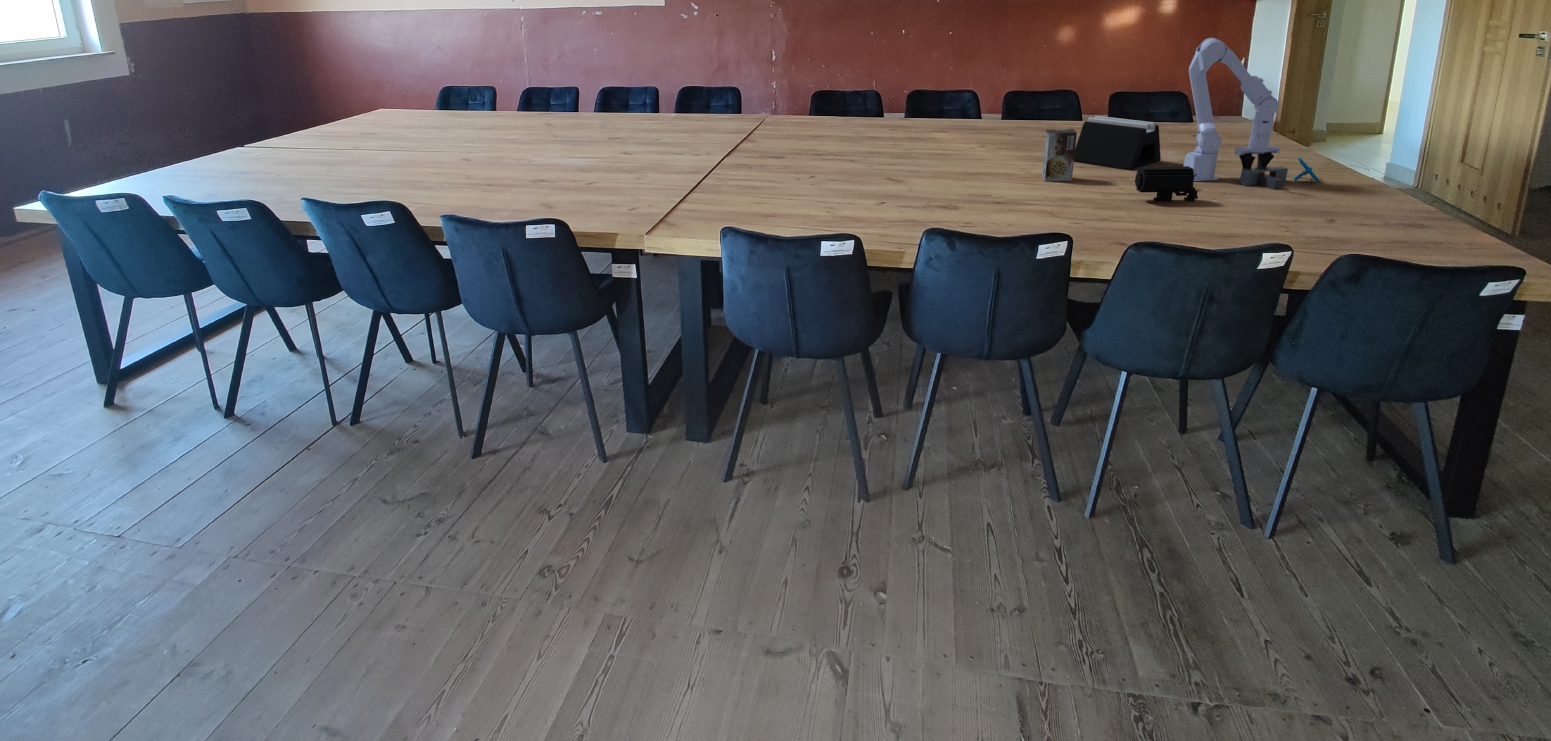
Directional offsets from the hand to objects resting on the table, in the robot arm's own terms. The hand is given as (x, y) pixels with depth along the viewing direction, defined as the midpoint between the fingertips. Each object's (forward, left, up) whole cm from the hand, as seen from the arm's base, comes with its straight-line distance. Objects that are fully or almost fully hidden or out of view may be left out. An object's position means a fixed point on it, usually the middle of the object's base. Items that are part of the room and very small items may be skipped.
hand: (1252, 176), depth 299 cm
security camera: (-42, -19, -2) cm, 46 cm away
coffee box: (-61, +15, -2) cm, 63 cm away
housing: (0, -5, -1) cm, 6 cm away
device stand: (-28, +38, -2) cm, 47 cm away
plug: (0, -6, -1) cm, 6 cm away
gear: (+16, -4, -2) cm, 17 cm away
